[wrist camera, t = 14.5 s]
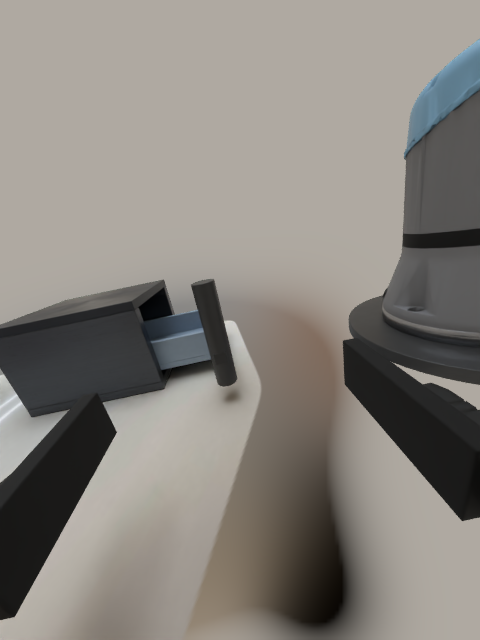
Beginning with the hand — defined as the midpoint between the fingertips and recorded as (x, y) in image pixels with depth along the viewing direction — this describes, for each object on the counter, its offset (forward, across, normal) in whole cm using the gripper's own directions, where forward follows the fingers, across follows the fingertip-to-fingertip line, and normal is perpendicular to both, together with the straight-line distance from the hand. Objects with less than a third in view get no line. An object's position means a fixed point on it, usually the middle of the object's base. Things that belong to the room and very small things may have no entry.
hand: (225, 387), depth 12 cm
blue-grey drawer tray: (+17, -8, -6) cm, 20 cm away
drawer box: (+20, -17, -8) cm, 27 cm away
